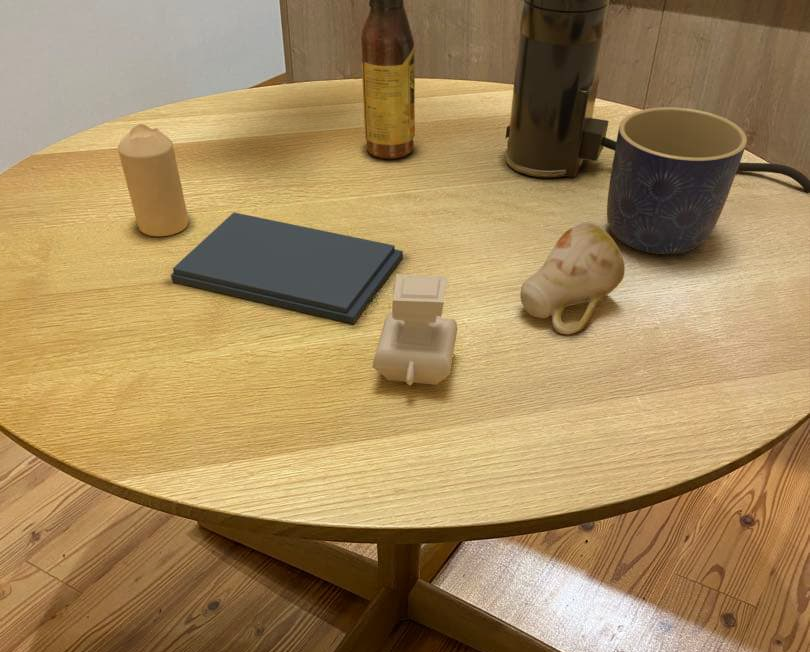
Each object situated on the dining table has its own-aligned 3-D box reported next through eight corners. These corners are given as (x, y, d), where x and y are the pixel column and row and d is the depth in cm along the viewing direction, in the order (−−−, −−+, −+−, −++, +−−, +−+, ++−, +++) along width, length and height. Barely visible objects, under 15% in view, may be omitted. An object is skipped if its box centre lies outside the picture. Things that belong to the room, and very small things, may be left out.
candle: (136, 216, 89) (111, 122, 81) (185, 209, 90) (166, 116, 82) (140, 240, 85) (115, 144, 78) (192, 233, 86) (172, 138, 79)
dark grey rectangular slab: (403, 257, 83) (403, 245, 82) (353, 324, 75) (353, 311, 74) (235, 222, 88) (233, 210, 87) (172, 282, 80) (169, 269, 79)
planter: (727, 226, 88) (761, 122, 80) (693, 277, 81) (727, 170, 73) (621, 198, 92) (643, 97, 84) (580, 245, 85) (600, 140, 77)
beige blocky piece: (386, 338, 74) (385, 254, 68) (457, 344, 73) (462, 260, 67) (370, 399, 68) (367, 314, 62) (447, 406, 68) (452, 321, 61)
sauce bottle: (422, 156, 99) (426, -35, 84) (375, 164, 97) (370, -29, 82) (402, 136, 103) (403, -50, 88) (357, 143, 101) (350, -45, 86)
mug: (494, 310, 77) (528, 203, 74) (563, 326, 83) (598, 227, 79) (544, 330, 72) (583, 216, 68) (614, 346, 78) (653, 242, 74)
